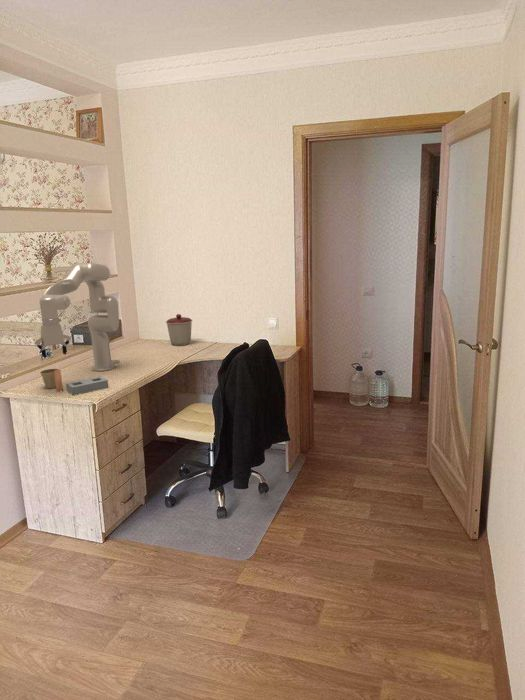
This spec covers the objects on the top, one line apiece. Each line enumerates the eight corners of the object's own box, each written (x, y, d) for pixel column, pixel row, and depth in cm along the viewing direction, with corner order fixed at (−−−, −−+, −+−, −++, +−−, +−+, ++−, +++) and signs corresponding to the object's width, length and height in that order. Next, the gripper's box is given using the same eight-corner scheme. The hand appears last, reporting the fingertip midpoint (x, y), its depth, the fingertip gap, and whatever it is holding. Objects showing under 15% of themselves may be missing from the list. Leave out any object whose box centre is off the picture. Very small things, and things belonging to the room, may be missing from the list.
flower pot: (38, 388, 277) (36, 372, 275) (54, 383, 285) (51, 367, 283) (49, 390, 272) (47, 374, 270) (65, 385, 280) (62, 369, 278)
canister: (199, 342, 369) (197, 312, 364) (182, 348, 354) (180, 317, 349) (179, 340, 378) (177, 311, 374) (162, 345, 364) (159, 315, 359)
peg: (62, 389, 273) (59, 369, 270) (63, 391, 270) (61, 370, 268) (56, 391, 271) (53, 370, 268) (57, 392, 268) (55, 371, 266)
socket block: (101, 383, 281) (100, 376, 280) (108, 387, 273) (107, 380, 272) (67, 390, 271) (66, 383, 270) (73, 395, 263) (72, 387, 262)
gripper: (65, 319, 270) (69, 351, 274) (30, 323, 260) (34, 357, 264) (70, 320, 264) (74, 354, 268) (34, 325, 254) (38, 360, 258)
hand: (54, 355), depth 266 cm, fingers open, 9 cm apart
